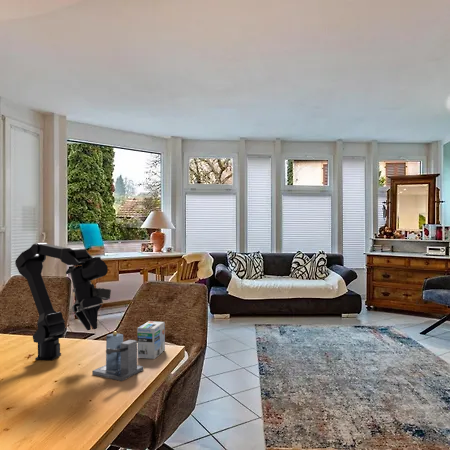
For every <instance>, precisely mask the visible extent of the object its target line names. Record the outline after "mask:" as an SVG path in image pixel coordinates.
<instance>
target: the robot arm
mask: <svg viewBox="0 0 450 450" xmlns="http://www.w3.org/2000/svg"><path fill="white" fill-rule="evenodd" d="M47 257H50V258H54V259H59V260H60V261H61V263H62V264H64V265H67V266H68V269H67V270H66V271H65V274H66V275H70V277H71V282H72V286H73V289H72V293H74V296H75V297H74V298H75V301H74V302H75V303H73V305H71V310H72V313H73V314H74V315H75V316H76V318H77V319H78V320H79V321H80V323H81V324H82V325H83V327H84V328H85V329H86V331H91V329H93V330H96V329H98V313H99V310H100V308H101V307H102V306H103V304H104V302H103V301H108V300H110V299H111V292H112V290H111V289H110V288H108V289H107V288H101V287H95V284H93V283H92V281H94V280H97V279H99V278H100V279H101V278H102V277H105V276H107V274H108V271H109V268H108V267H109V266H108V265H107V264H106V262H105V261H104V260H103V259H102V258H101V256H94V257H93V256H91V254H90V253H89V252H88V251H87V248H86V247H80V246H78V247H63V246H59V245H55V244H49V243H47V242H35V243H33V244H31V246H30V247H28V249H26V250H24V251H22V252H21V253H20V254H19V255H18V257H17V258H16V259H15V267H16V269H17V271H18V273H19V274H20V275H21V276H22V277H23V278H25V280H26V281H27V284H28V288H29V290H30V293H31V296H32V298H33V301H34V304H35V307H36V310H37V312H38V320H37V323H36V326H37V330H36V331H35V333H34V334H33V335H32V340H33V343H36V344H37V356H36V357H35V358H34V360H38V361H52V360H55V359H56V358H58V357H60V356H62V352H61V343H60V339H63V336H64V333H65V331H66V330H65V329H66V324H65V323H66V321H65V319H64V317H63V313H62V312H61V311H58V312H57V311H56V310H55V309H54V307H53V304H52V302H51V299H50V298H51V297H50V295H49V293H48V290H47V287H46V285H45V284H46V283H45V281H44V278H43V276H42V273H43V268H44V265H43V263H44V262H45V260H47Z"/></svg>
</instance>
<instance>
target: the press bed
mask: <svg viewBox="0 0 450 450" xmlns="http://www.w3.org/2000/svg"><path fill="white" fill-rule="evenodd" d="M105 349H106V348H105ZM115 352H121V368H120V369H116V370H109V369H106V364H105V365H103V366H100V367H98V368H95V369H93V370H92V375H93V376H97V377H102V378H106V379H110V380H114V381H115V380H116V381H119V382H123V381H125V380H127V379H129V378H131V377H133V376H134V375H137V374H138V373H140V372H143V371H144V366H142V365H138V340H135V339H128V340H124V341H123V342H122V343H121V348H120V349H111V348H108V349H106V350H105V355H106V354H111V353H115Z"/></svg>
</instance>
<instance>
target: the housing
mask: <svg viewBox="0 0 450 450" xmlns="http://www.w3.org/2000/svg"><path fill="white" fill-rule="evenodd" d="M105 339H106V340H105V341H106V342H105V349H108V348H111V349H120V348H121V343H122V342H124V334H123V333H118V332H117V331H116V330H114V331H112V333H110V334H107V335H106V338H105ZM105 365H106V369H109V370H116V369H120V368H121V352H115V353H111V354H106V353H105Z"/></svg>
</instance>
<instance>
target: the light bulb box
mask: <svg viewBox="0 0 450 450" xmlns="http://www.w3.org/2000/svg"><path fill="white" fill-rule="evenodd" d="M165 325H166V323H165V321H152V320H148V321H147V322H146V323H144V324H142V325H139V327H137V330H136V331H137V335H136V336H137V359H148V360H149V359H150V360H155V359H156V358H158V357H159V356H160V355H161V354H163V353H164V352H165V350H166V346H165V345H166V340H165V339H166V336H165V333H166V331H165V330H166V327H165ZM163 351H164V352H163Z"/></svg>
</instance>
